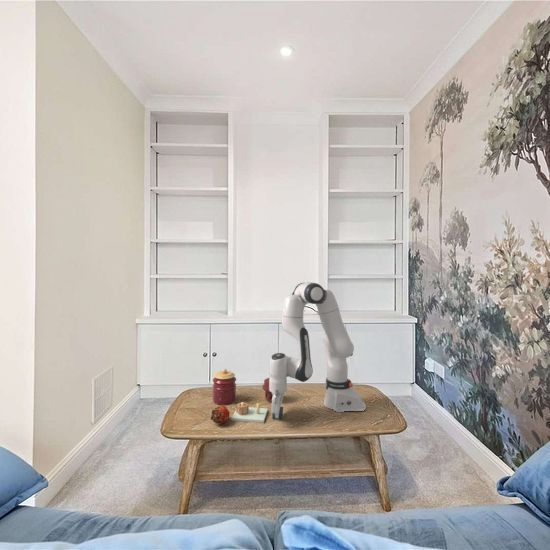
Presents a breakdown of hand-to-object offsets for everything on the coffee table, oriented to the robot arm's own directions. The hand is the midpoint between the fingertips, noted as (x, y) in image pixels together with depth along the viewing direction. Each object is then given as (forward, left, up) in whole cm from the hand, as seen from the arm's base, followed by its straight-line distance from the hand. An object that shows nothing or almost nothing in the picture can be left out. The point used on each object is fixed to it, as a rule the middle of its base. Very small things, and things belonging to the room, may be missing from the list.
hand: (277, 414), depth 162 cm
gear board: (+14, 0, -2) cm, 14 cm away
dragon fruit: (+27, +9, -2) cm, 28 cm away
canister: (+32, -15, -2) cm, 36 cm away
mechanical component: (+6, -19, -2) cm, 20 cm away
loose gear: (0, 0, -2) cm, 2 cm away
